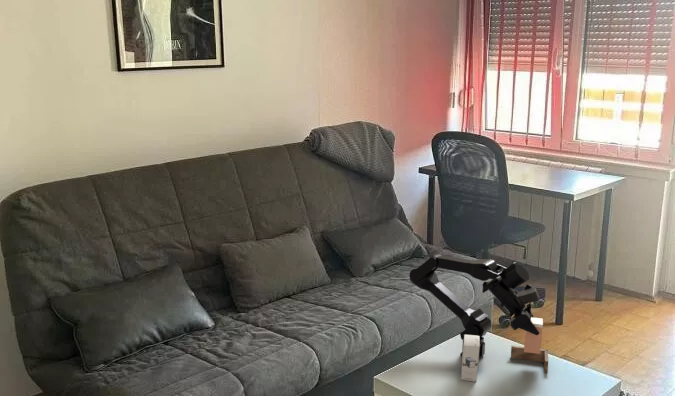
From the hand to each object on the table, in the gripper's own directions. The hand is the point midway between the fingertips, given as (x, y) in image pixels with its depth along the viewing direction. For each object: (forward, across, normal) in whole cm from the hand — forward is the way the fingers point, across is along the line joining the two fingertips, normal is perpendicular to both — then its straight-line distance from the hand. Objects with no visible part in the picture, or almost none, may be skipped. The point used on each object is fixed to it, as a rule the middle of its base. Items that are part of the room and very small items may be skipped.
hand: (538, 331), depth 212 cm
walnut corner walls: (+7, +1, +10) cm, 12 cm away
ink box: (-5, -12, +23) cm, 26 cm away
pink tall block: (+4, 0, +6) cm, 7 cm away
